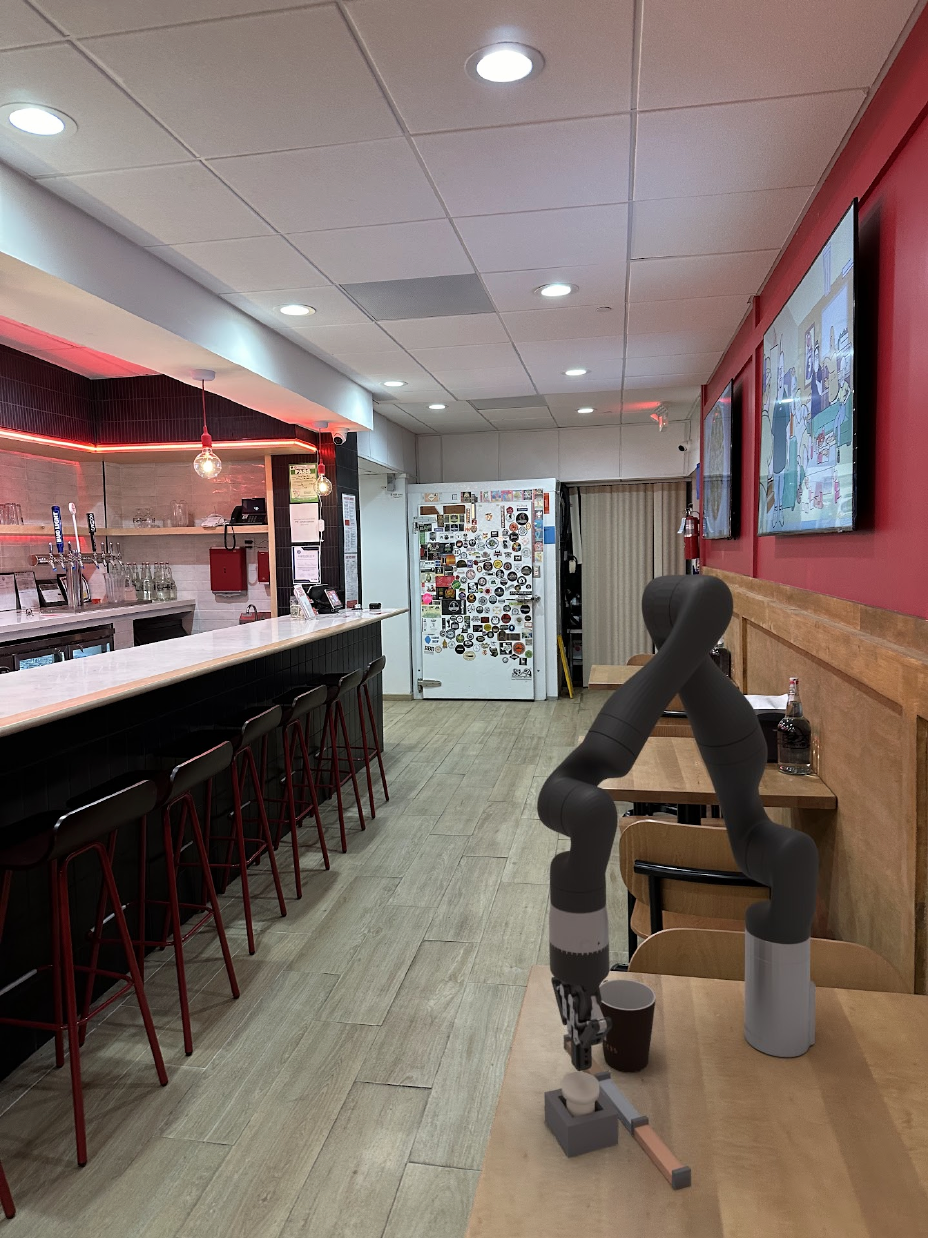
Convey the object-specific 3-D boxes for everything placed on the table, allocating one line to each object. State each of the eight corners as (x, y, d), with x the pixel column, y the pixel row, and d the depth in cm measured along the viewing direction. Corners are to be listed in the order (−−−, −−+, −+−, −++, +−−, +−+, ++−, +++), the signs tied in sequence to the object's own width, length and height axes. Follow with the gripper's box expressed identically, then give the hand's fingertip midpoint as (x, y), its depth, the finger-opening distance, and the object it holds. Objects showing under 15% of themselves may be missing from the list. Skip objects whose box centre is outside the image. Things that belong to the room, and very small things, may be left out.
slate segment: (608, 1084, 116) (608, 1070, 116) (646, 1130, 107) (646, 1115, 107) (594, 1087, 116) (594, 1074, 115) (631, 1134, 106) (631, 1119, 106)
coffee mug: (656, 1081, 117) (656, 1013, 116) (595, 1074, 119) (594, 1007, 118) (654, 1034, 128) (654, 972, 127) (598, 1029, 130) (598, 967, 129)
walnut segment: (576, 1045, 126) (576, 1032, 126) (608, 1084, 116) (608, 1070, 116) (563, 1048, 125) (563, 1035, 125) (594, 1087, 116) (594, 1074, 115)
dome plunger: (588, 1112, 110) (588, 1068, 109) (606, 1135, 105) (606, 1090, 105) (555, 1120, 108) (555, 1076, 108) (572, 1145, 104) (571, 1099, 103)
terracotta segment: (646, 1130, 107) (646, 1115, 107) (690, 1185, 97) (690, 1169, 97) (631, 1134, 106) (631, 1119, 106) (674, 1190, 97) (674, 1174, 97)
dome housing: (592, 1109, 111) (592, 1081, 111) (618, 1144, 104) (618, 1114, 104) (544, 1121, 109) (544, 1092, 109) (568, 1158, 102) (567, 1127, 102)
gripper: (631, 954, 100) (633, 1091, 101) (581, 910, 112) (584, 1033, 113) (575, 966, 97) (578, 1106, 99) (530, 920, 110) (534, 1044, 111)
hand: (581, 1066), depth 106 cm, fingers closed
